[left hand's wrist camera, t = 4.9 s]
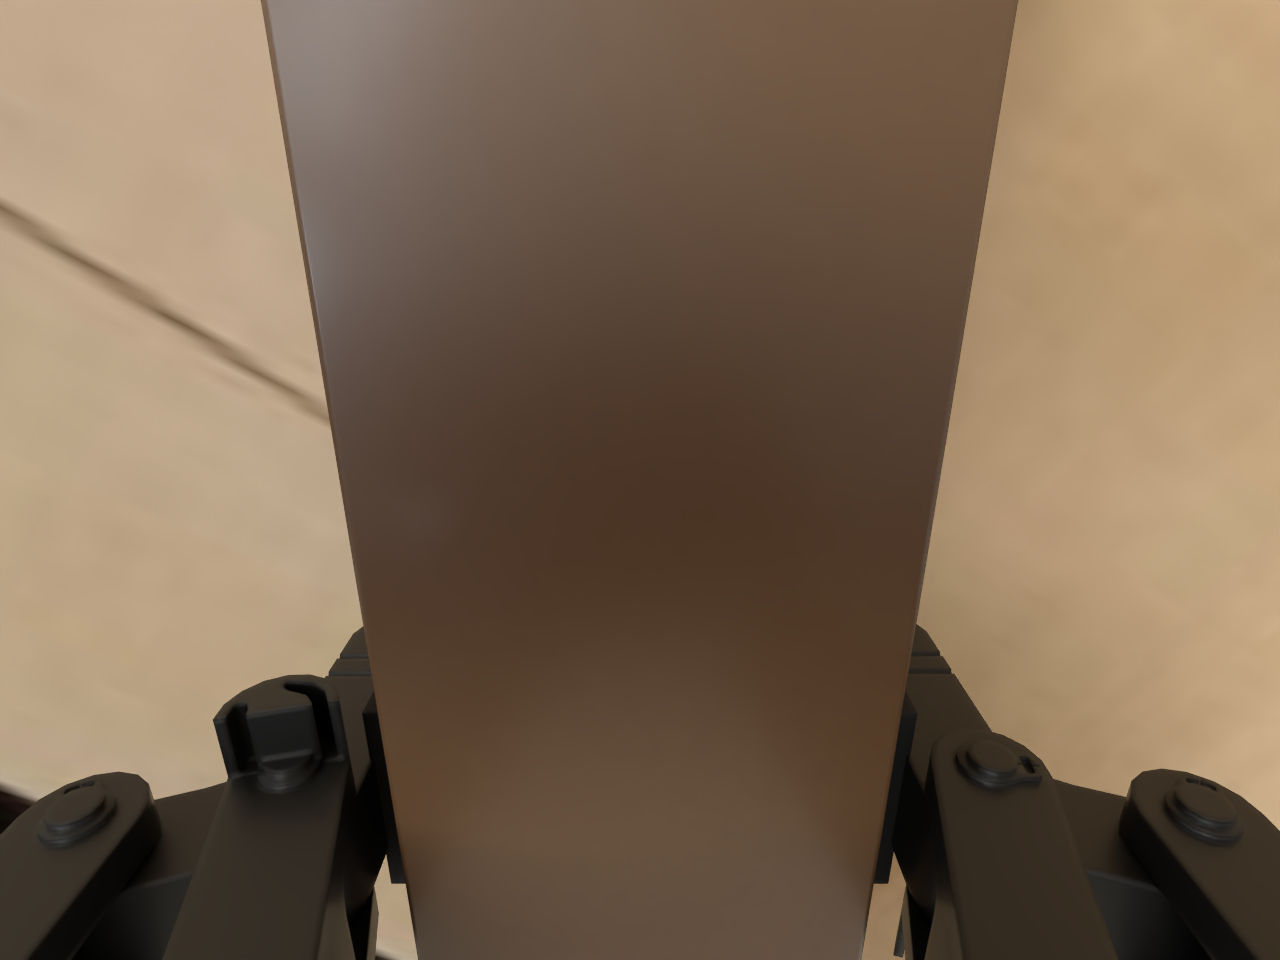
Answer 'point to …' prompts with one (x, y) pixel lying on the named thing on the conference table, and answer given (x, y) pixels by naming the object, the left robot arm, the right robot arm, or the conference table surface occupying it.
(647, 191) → the beam
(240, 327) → the conference table surface
